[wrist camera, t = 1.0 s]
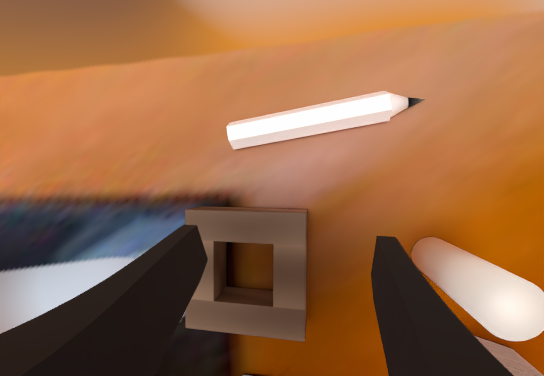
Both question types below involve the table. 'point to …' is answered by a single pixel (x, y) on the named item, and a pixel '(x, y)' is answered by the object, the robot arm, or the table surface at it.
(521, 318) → the peg
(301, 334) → the brown square frame
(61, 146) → the table surface
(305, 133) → the marker
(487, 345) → the skincare box
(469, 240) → the table surface
